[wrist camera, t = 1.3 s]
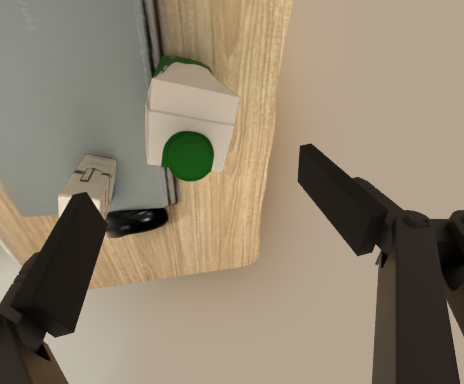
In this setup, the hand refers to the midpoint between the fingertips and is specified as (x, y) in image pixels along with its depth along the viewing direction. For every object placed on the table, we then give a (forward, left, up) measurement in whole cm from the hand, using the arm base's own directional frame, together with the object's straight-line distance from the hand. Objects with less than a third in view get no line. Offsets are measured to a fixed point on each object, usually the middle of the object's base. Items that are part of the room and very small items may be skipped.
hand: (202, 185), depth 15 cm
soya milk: (0, 0, -27) cm, 27 cm away
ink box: (+12, -18, -27) cm, 34 cm away
